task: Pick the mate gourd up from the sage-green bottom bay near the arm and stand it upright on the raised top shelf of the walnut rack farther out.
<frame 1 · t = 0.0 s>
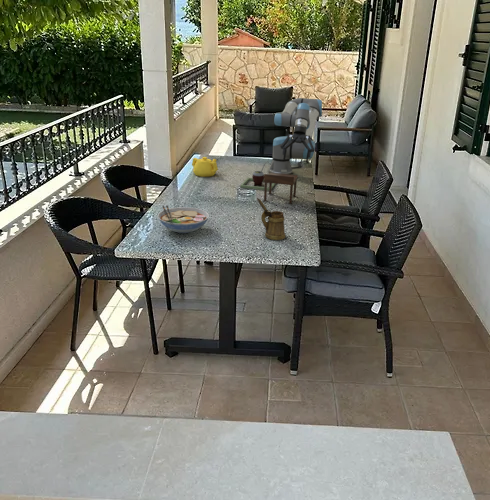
hand: (295, 160, 299), 15 cm above the table, tool tilted 35°, fingers open, 13 cm apart
teapot: (206, 174, 321), on the table
ramen bowl: (183, 230, 228), on the table
mate gourd: (258, 185, 303), resting in bottom bay
rack: (280, 198, 280), on the table
bottom bay: (258, 185, 303), on the table
wooden mug: (270, 236, 227), on the table
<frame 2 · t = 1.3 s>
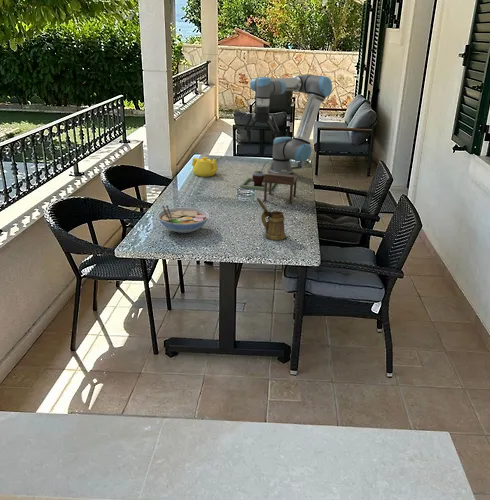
hand: (260, 143, 293), 25 cm above the table, tool pointing down, fingers open, 13 cm apart
nothing on the table moved.
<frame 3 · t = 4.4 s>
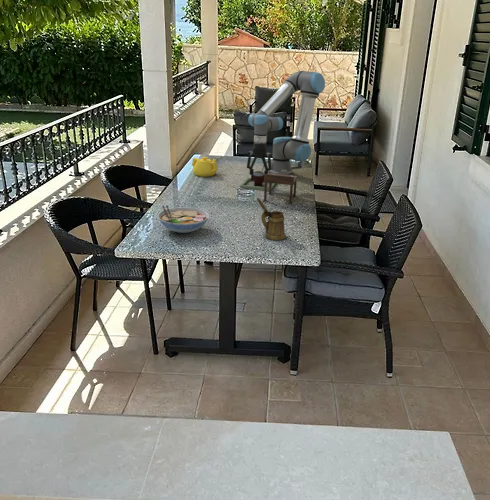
hand: (258, 180, 302), 3 cm above the table, tool pointing down, fingers closed on mate gourd, 7 cm apart
mate gourd: (259, 185, 303), resting in bottom bay, touching gripper
everything else where it was.
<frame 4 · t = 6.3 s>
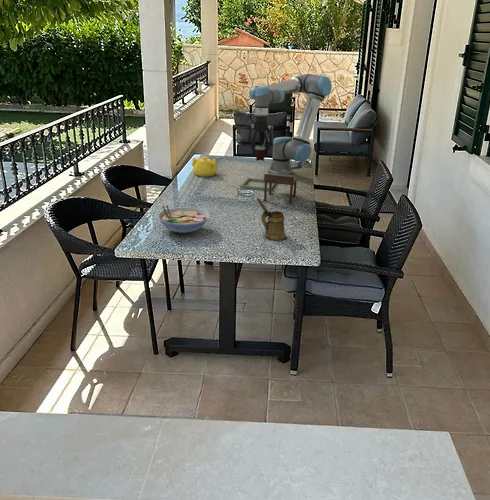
hand: (260, 155, 296), 18 cm above the table, tool pointing down, fingers closed on mate gourd, 7 cm apart
mate gourd: (260, 159, 297), point 15 cm above the table, touching gripper
everything else where it was.
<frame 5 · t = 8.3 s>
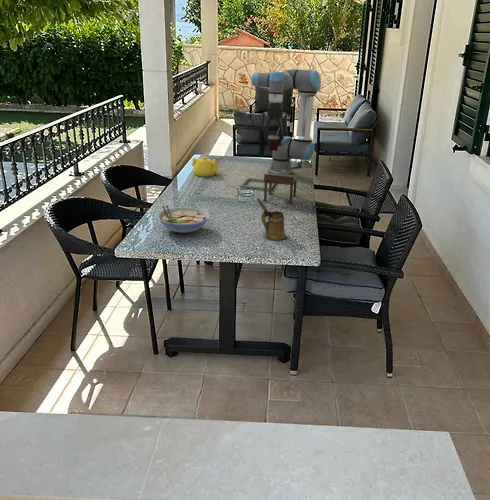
hand: (273, 145, 278), 28 cm above the table, tool pointing down, fingers closed on mate gourd, 7 cm apart
mate gourd: (273, 150, 279), point 25 cm above the table, touching gripper
everything else where it was.
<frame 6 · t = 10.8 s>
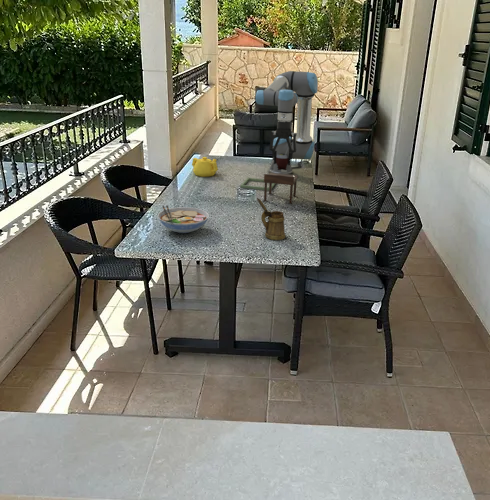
hand: (282, 164, 272), 19 cm above the table, tool pointing down, fingers closed on mate gourd, 7 cm apart
mate gourd: (282, 169, 273), point 17 cm above the table, touching gripper
everything else where it was.
when the fingers open (15 cm above the table, at t = 12.4 s): mate gourd stays where it is, resting on rack.
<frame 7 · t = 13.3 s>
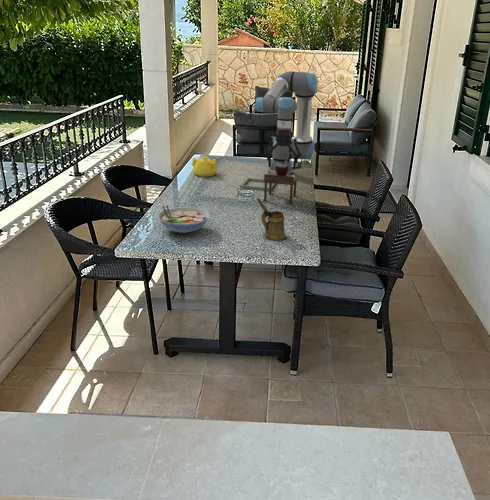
hand: (281, 168, 273), 17 cm above the table, tool pointing down, fingers open, 13 cm apart
mate gourd: (282, 177, 275), point 12 cm above the table, touching rack
everything else where it was.
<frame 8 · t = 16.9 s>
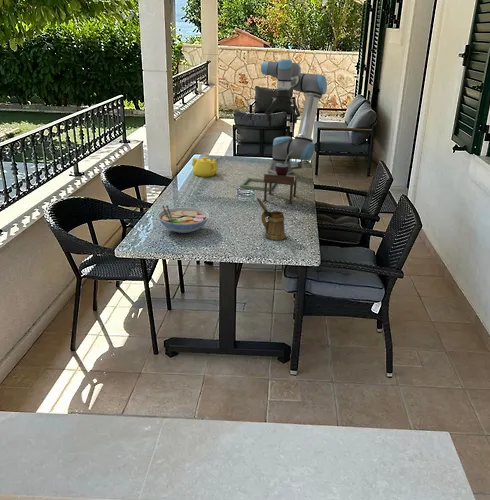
hand: (281, 128, 287), 35 cm above the table, tool pointing down, fingers open, 13 cm apart
nothing on the table moved.
at the end: mate gourd inside the target area on the rack (0.5 cm from its centre), point 11.8 cm above the rack's base; mate gourd tilted 0°; the gripper is holding nothing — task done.
